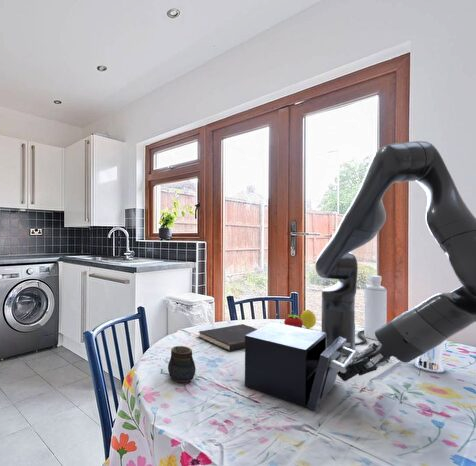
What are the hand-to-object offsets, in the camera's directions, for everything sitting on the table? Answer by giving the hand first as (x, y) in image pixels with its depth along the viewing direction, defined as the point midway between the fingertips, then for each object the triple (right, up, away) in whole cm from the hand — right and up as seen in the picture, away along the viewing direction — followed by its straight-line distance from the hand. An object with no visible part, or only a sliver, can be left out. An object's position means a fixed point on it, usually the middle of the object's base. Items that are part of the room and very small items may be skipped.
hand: (340, 376), depth 73 cm
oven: (-8, -6, +8) cm, 13 cm away
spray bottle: (+45, -7, +47) cm, 65 cm away
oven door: (-2, -6, +2) cm, 6 cm away
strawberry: (+14, -6, +47) cm, 49 cm away
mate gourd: (-35, -6, +11) cm, 37 cm away
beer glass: (+39, -6, +19) cm, 44 cm away
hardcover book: (-9, -6, +43) cm, 44 cm away
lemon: (+25, -6, +57) cm, 63 cm away
